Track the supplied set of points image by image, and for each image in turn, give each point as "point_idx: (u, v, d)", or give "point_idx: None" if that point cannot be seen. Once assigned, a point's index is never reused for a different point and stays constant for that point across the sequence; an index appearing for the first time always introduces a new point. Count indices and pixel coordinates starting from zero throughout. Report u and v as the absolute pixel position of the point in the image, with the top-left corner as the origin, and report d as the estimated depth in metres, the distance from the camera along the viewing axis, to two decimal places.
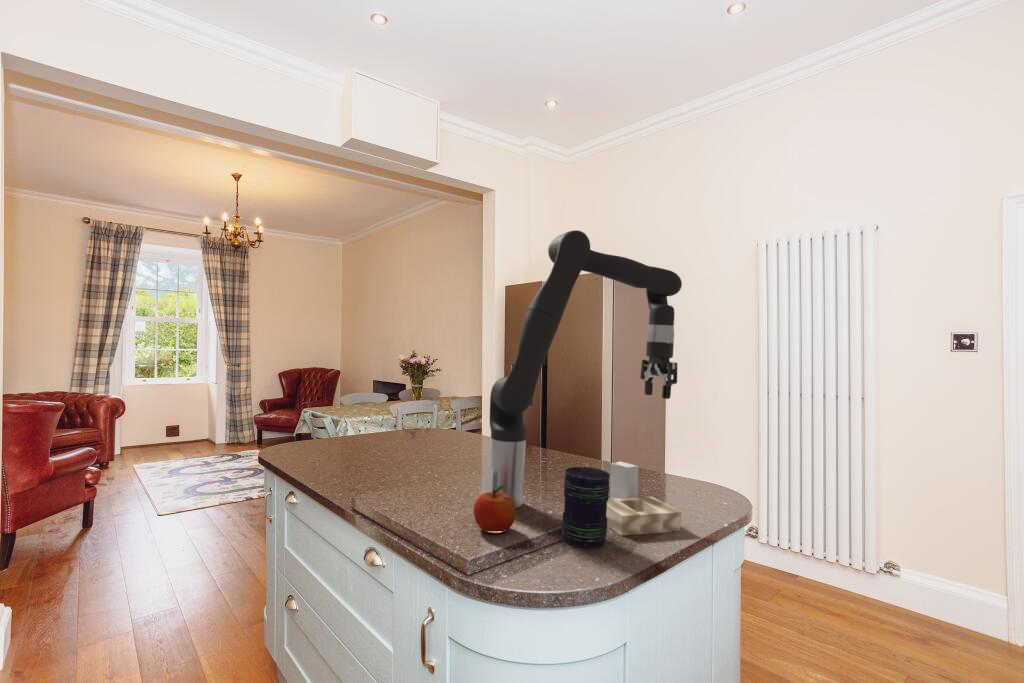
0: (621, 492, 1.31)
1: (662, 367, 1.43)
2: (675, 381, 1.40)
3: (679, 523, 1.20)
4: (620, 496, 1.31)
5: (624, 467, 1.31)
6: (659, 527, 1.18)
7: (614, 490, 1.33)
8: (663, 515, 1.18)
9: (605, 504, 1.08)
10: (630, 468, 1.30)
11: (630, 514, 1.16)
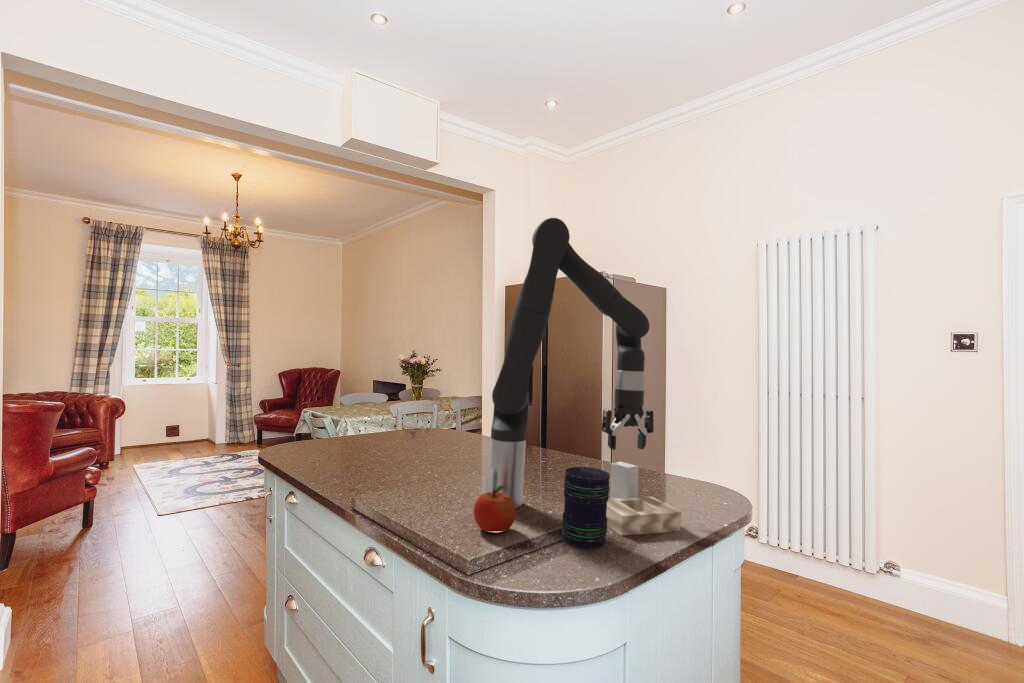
0: (621, 492, 1.31)
1: (641, 416, 1.33)
2: None
3: (679, 523, 1.20)
4: (620, 496, 1.31)
5: (624, 467, 1.31)
6: (659, 527, 1.18)
7: (614, 490, 1.33)
8: (663, 515, 1.18)
9: (605, 504, 1.08)
10: (630, 468, 1.30)
11: (630, 514, 1.16)
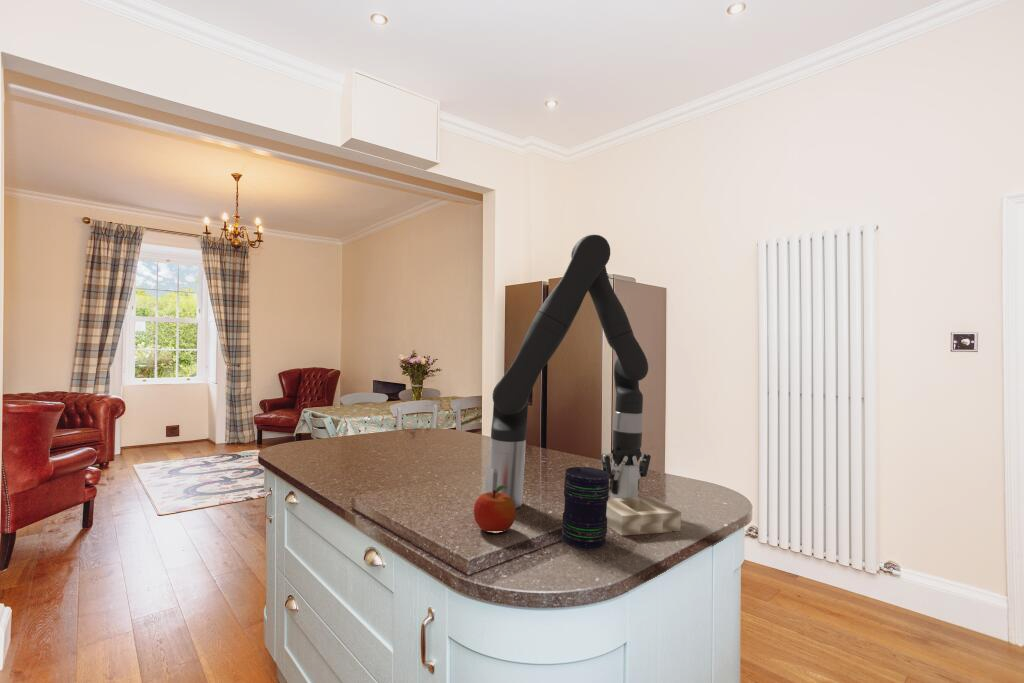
0: (621, 492, 1.31)
1: (638, 458, 1.33)
2: None
3: (679, 523, 1.20)
4: (620, 496, 1.31)
5: (624, 467, 1.31)
6: (659, 527, 1.18)
7: None
8: (663, 515, 1.18)
9: (605, 504, 1.08)
10: (630, 468, 1.30)
11: (630, 514, 1.16)
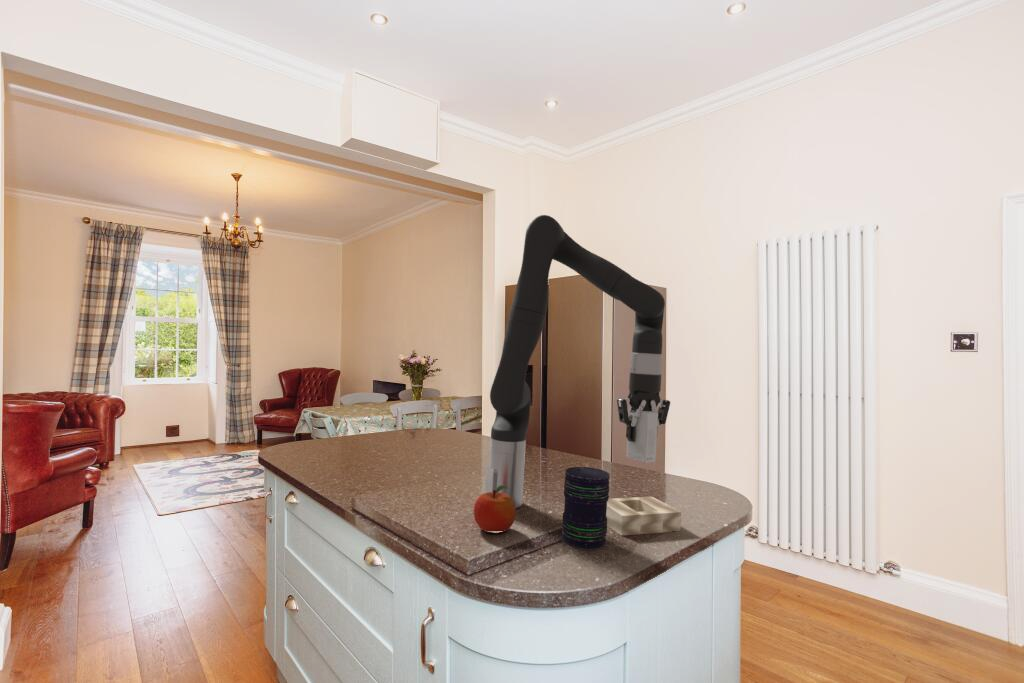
0: (639, 439, 1.21)
1: (657, 403, 1.23)
2: None
3: (679, 523, 1.20)
4: (638, 444, 1.21)
5: (642, 412, 1.21)
6: (659, 527, 1.18)
7: None
8: (663, 515, 1.18)
9: (605, 504, 1.08)
10: (649, 413, 1.20)
11: (630, 514, 1.16)
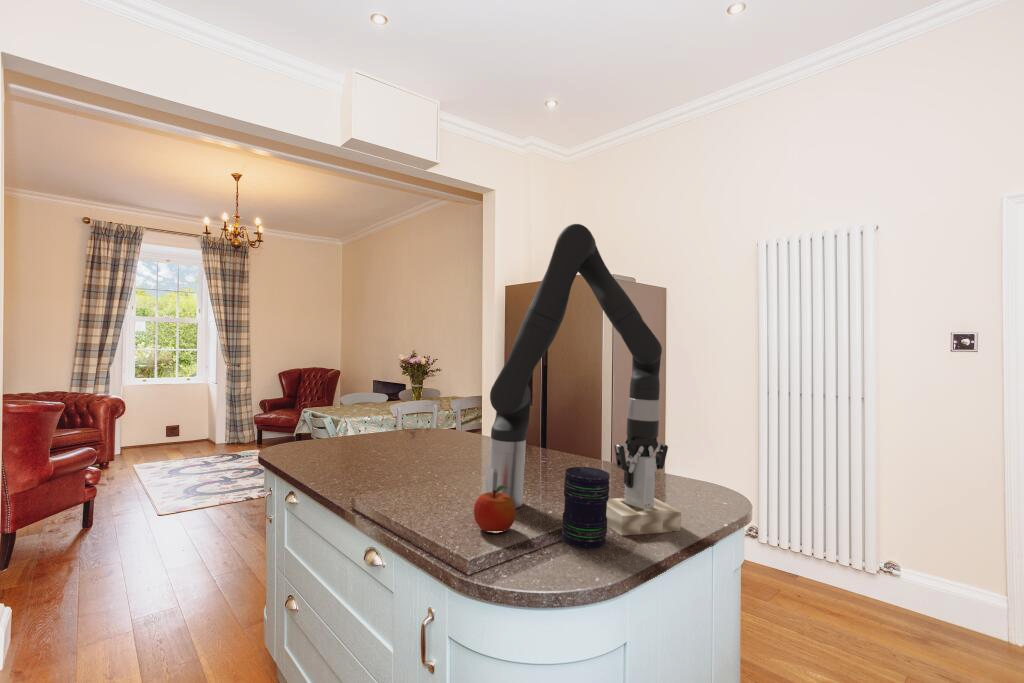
0: (637, 485, 1.21)
1: (655, 448, 1.23)
2: None
3: (679, 523, 1.20)
4: (635, 490, 1.21)
5: (640, 458, 1.21)
6: (659, 527, 1.18)
7: None
8: (663, 515, 1.18)
9: (605, 504, 1.08)
10: (647, 459, 1.20)
11: (630, 514, 1.16)
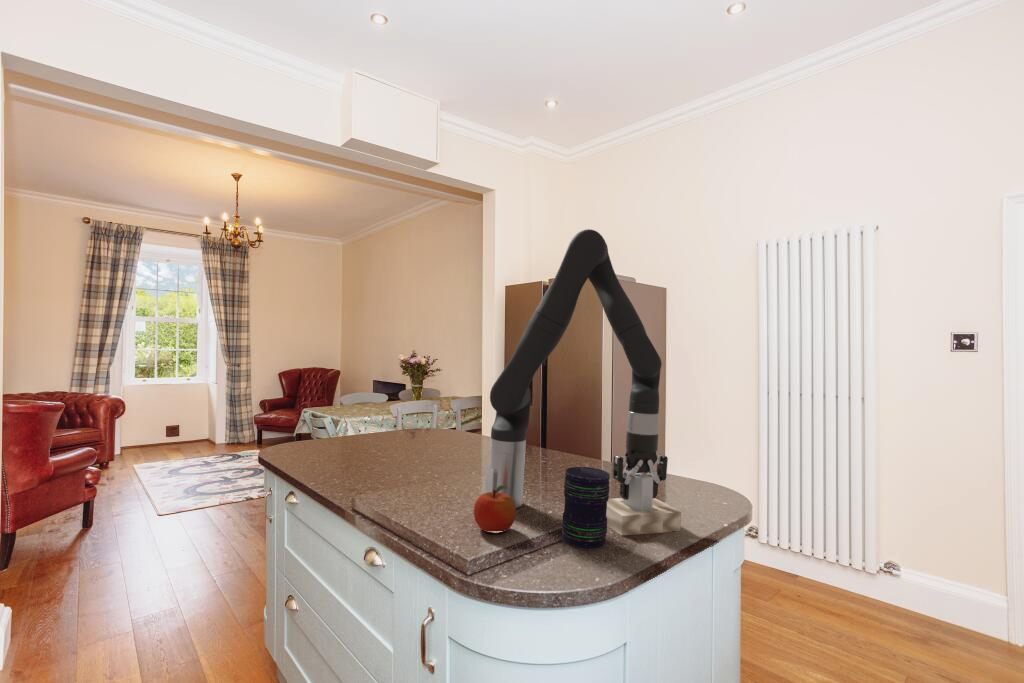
0: (634, 505, 1.21)
1: (654, 462, 1.23)
2: None
3: (679, 523, 1.20)
4: (633, 509, 1.21)
5: (637, 478, 1.21)
6: (659, 527, 1.18)
7: (626, 503, 1.23)
8: (663, 515, 1.18)
9: (605, 504, 1.08)
10: (643, 479, 1.20)
11: (630, 514, 1.16)
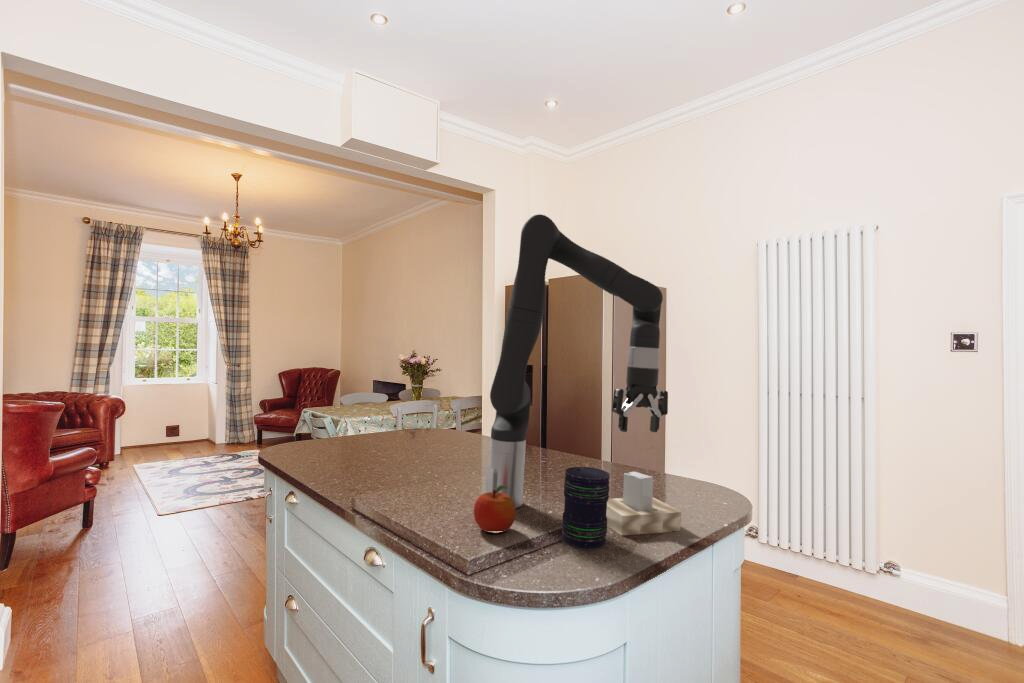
0: (634, 505, 1.21)
1: (654, 397, 1.24)
2: None
3: (679, 523, 1.20)
4: (633, 509, 1.21)
5: (637, 478, 1.21)
6: (659, 527, 1.18)
7: (626, 503, 1.23)
8: (663, 515, 1.18)
9: (605, 504, 1.08)
10: (643, 479, 1.20)
11: (630, 514, 1.16)
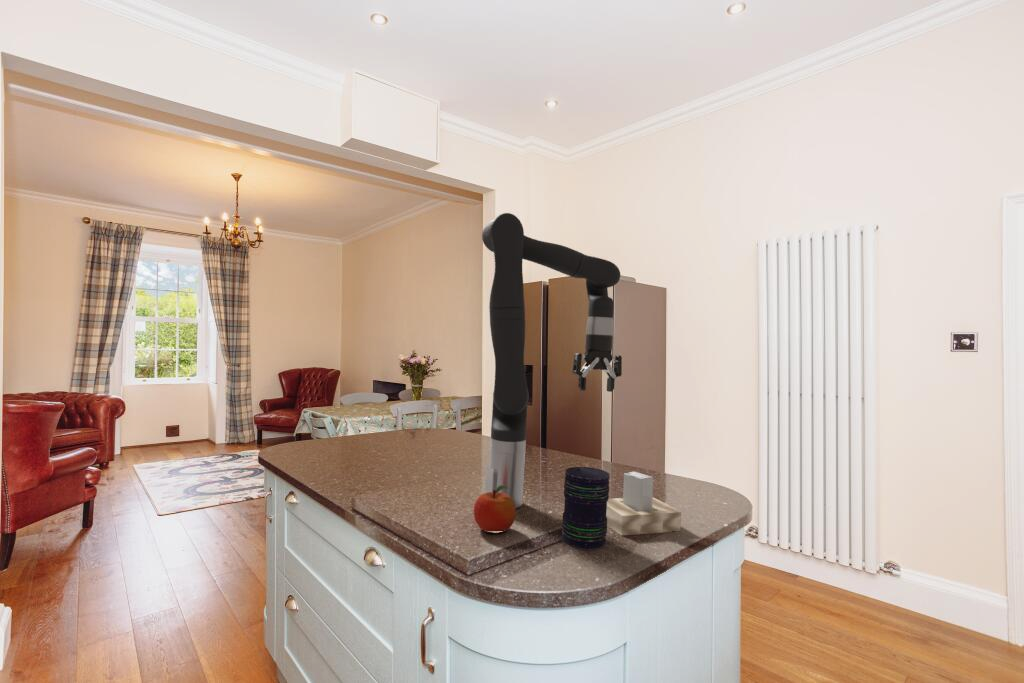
0: (634, 505, 1.21)
1: (609, 361, 1.42)
2: None
3: (679, 523, 1.20)
4: (633, 509, 1.21)
5: (637, 478, 1.21)
6: (659, 527, 1.18)
7: (626, 503, 1.23)
8: (663, 515, 1.18)
9: (605, 504, 1.08)
10: (643, 479, 1.20)
11: (630, 514, 1.16)
